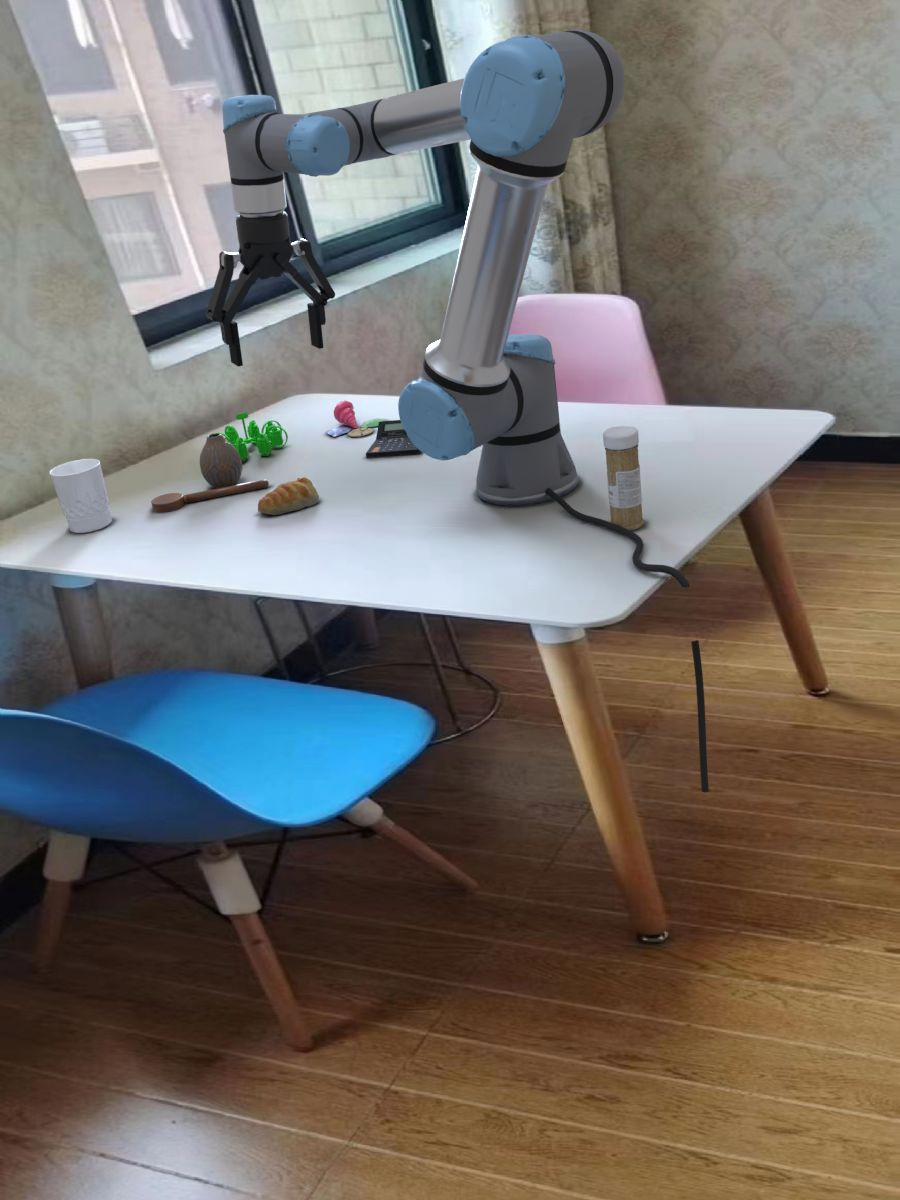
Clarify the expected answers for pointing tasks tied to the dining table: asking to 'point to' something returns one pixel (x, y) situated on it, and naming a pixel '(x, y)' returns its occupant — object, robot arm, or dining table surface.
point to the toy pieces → (350, 421)
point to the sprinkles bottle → (623, 476)
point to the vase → (220, 462)
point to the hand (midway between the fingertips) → (278, 355)
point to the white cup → (82, 494)
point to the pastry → (289, 497)
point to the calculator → (391, 441)
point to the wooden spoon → (202, 495)
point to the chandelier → (255, 437)
